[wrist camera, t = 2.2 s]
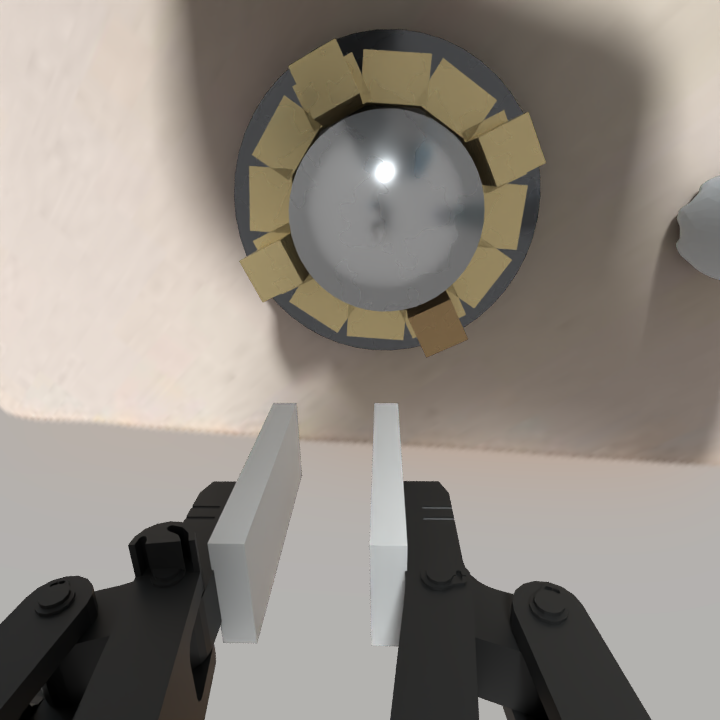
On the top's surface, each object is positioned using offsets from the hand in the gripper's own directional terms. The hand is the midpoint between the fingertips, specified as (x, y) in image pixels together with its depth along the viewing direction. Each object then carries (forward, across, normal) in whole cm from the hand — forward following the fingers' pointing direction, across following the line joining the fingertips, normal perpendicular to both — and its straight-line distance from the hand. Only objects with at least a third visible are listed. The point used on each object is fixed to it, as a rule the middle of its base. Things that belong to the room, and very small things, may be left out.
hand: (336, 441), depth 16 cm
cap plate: (+19, +2, +6) cm, 20 cm away
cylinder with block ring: (+16, +2, +6) cm, 17 cm away
